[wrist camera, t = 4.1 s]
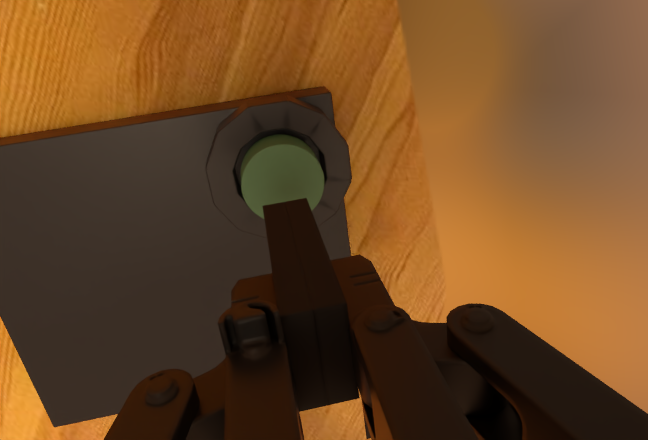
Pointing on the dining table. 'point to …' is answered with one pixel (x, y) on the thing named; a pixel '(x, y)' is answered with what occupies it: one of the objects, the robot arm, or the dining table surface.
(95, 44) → the dining table surface
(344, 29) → the dining table surface
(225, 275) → the scale
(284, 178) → the button
